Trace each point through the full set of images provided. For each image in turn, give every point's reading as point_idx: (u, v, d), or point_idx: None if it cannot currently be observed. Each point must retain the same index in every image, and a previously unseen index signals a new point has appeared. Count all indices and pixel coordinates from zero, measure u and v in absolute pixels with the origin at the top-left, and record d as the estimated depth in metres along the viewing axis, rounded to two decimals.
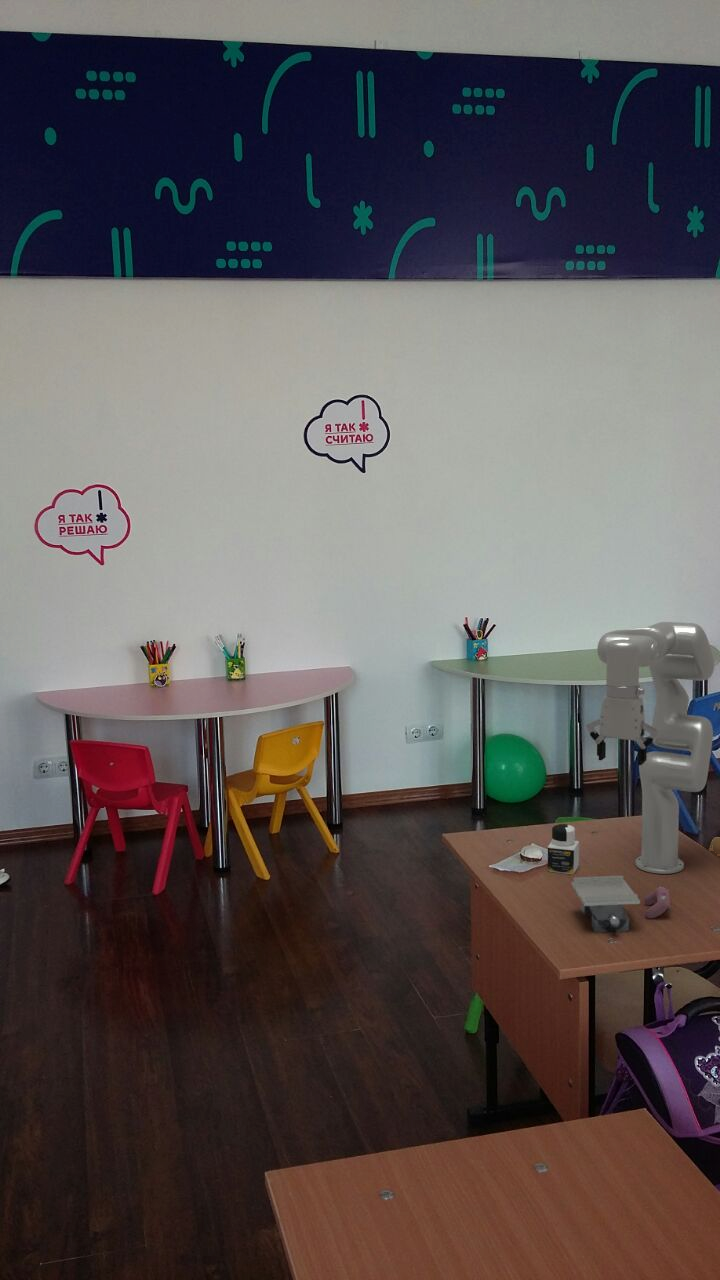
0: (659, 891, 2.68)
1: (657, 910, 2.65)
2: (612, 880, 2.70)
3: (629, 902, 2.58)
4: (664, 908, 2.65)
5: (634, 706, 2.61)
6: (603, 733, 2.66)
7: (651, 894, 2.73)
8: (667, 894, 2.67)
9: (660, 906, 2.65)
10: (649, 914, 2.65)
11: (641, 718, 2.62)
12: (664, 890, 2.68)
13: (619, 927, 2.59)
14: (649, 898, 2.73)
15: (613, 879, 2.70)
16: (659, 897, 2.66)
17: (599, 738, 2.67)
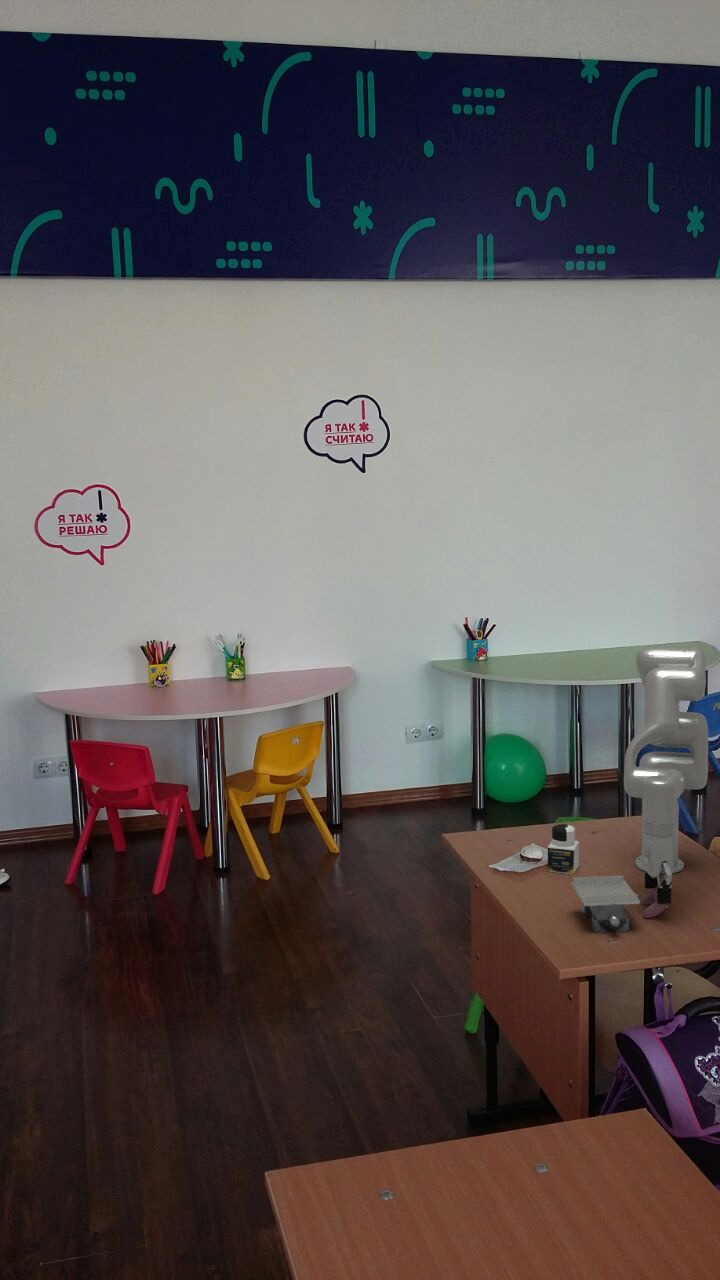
0: None
1: (655, 910, 2.65)
2: (612, 880, 2.70)
3: (629, 902, 2.58)
4: (662, 908, 2.65)
5: None
6: None
7: (649, 894, 2.73)
8: None
9: (658, 906, 2.65)
10: (647, 914, 2.65)
11: None
12: None
13: (619, 927, 2.59)
14: (647, 898, 2.73)
15: (613, 879, 2.70)
16: None
17: None
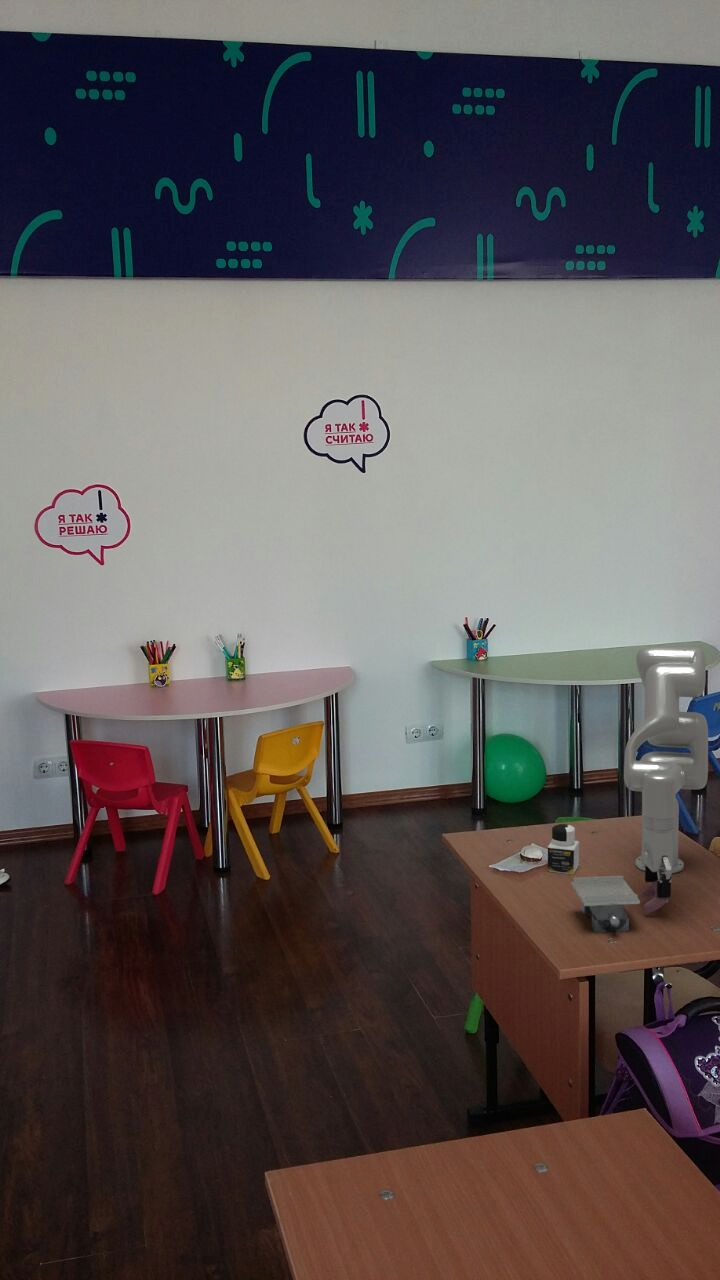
0: None
1: (655, 904, 2.66)
2: (612, 880, 2.70)
3: (629, 902, 2.58)
4: (662, 903, 2.65)
5: None
6: None
7: (649, 887, 2.74)
8: None
9: (658, 900, 2.65)
10: (647, 908, 2.66)
11: None
12: None
13: (619, 927, 2.59)
14: (647, 891, 2.74)
15: (613, 879, 2.70)
16: None
17: None
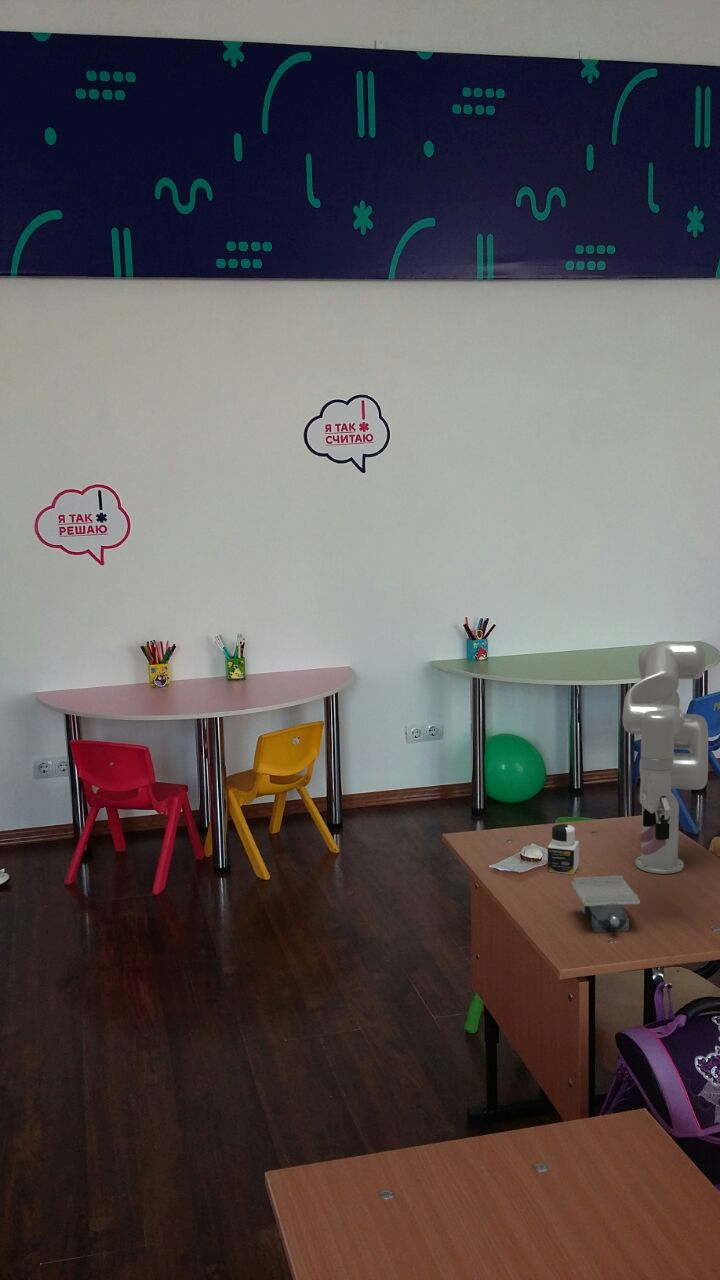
0: None
1: (653, 847, 2.62)
2: (612, 880, 2.70)
3: (629, 902, 2.58)
4: (660, 845, 2.62)
5: None
6: None
7: (647, 831, 2.71)
8: None
9: (657, 842, 2.62)
10: (645, 850, 2.63)
11: None
12: None
13: (619, 927, 2.59)
14: (645, 835, 2.71)
15: (613, 879, 2.70)
16: None
17: None
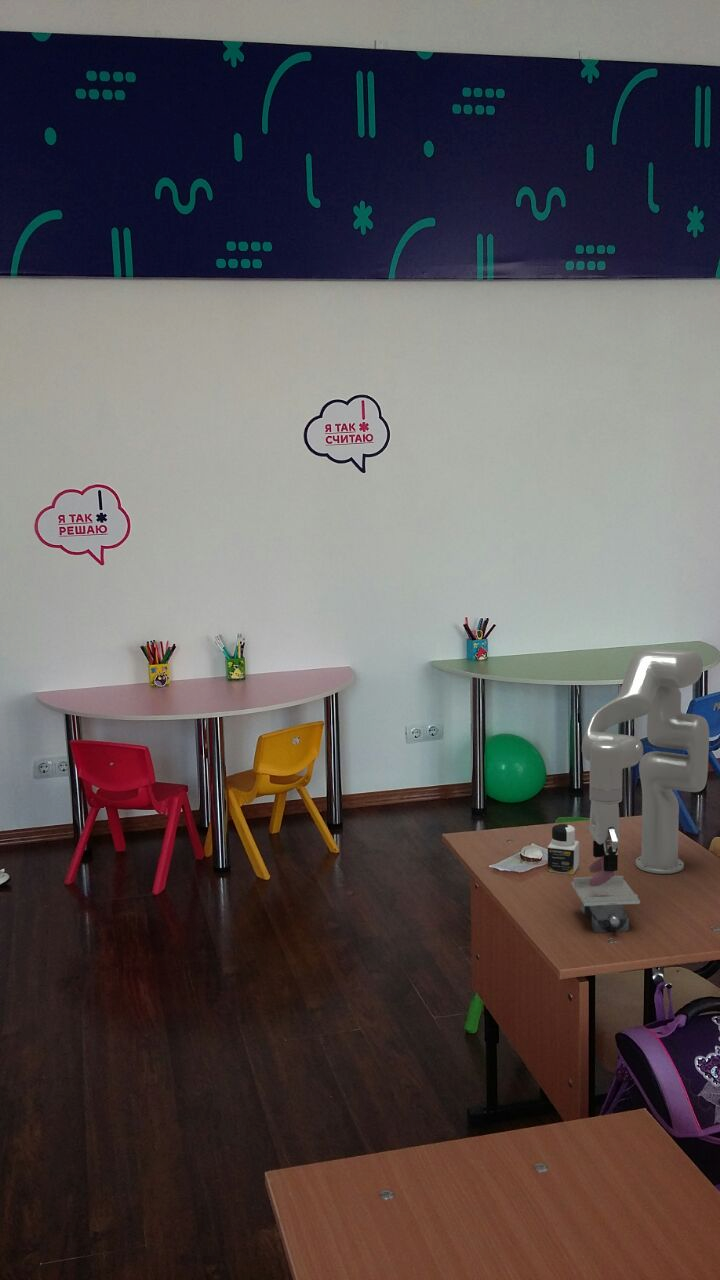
0: None
1: (602, 878, 2.59)
2: (612, 880, 2.70)
3: (629, 902, 2.58)
4: (609, 876, 2.59)
5: None
6: None
7: (597, 862, 2.67)
8: None
9: (605, 874, 2.59)
10: (593, 882, 2.60)
11: None
12: None
13: (619, 927, 2.59)
14: (595, 866, 2.67)
15: (613, 879, 2.70)
16: None
17: None
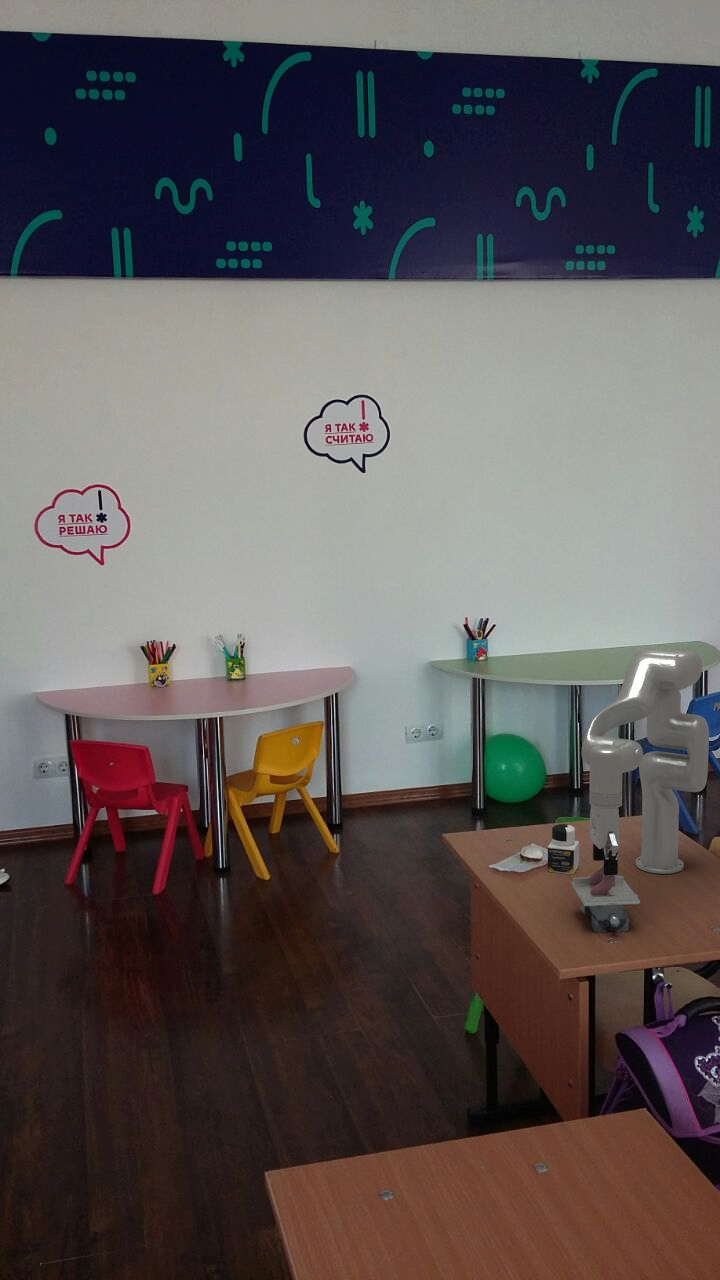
0: None
1: (602, 888, 2.60)
2: None
3: (629, 902, 2.58)
4: (609, 886, 2.59)
5: None
6: None
7: (597, 873, 2.68)
8: None
9: (606, 884, 2.59)
10: (594, 892, 2.60)
11: None
12: None
13: (619, 927, 2.59)
14: (595, 877, 2.68)
15: None
16: (604, 875, 2.61)
17: None
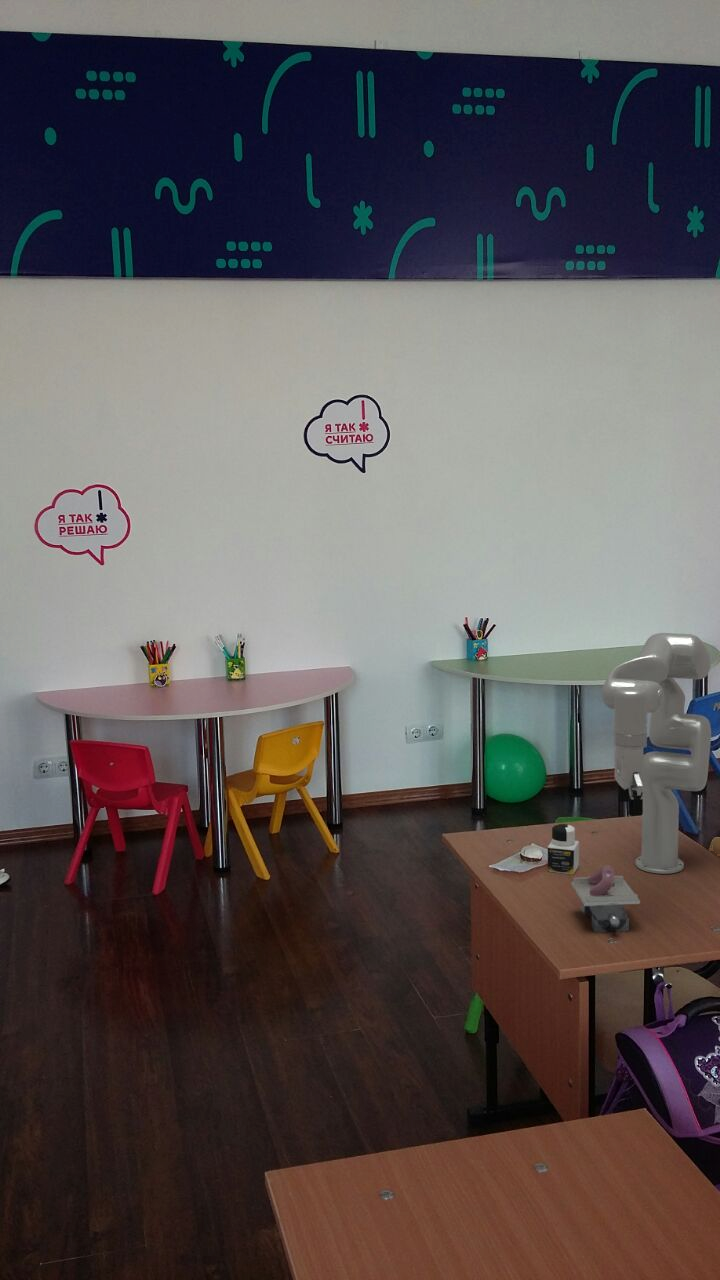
0: (604, 869, 2.63)
1: (602, 888, 2.60)
2: None
3: (629, 902, 2.58)
4: (609, 886, 2.59)
5: None
6: None
7: (597, 873, 2.68)
8: (612, 872, 2.62)
9: (605, 884, 2.59)
10: (593, 892, 2.60)
11: None
12: (609, 868, 2.63)
13: (619, 927, 2.59)
14: (595, 877, 2.68)
15: None
16: (604, 875, 2.61)
17: None
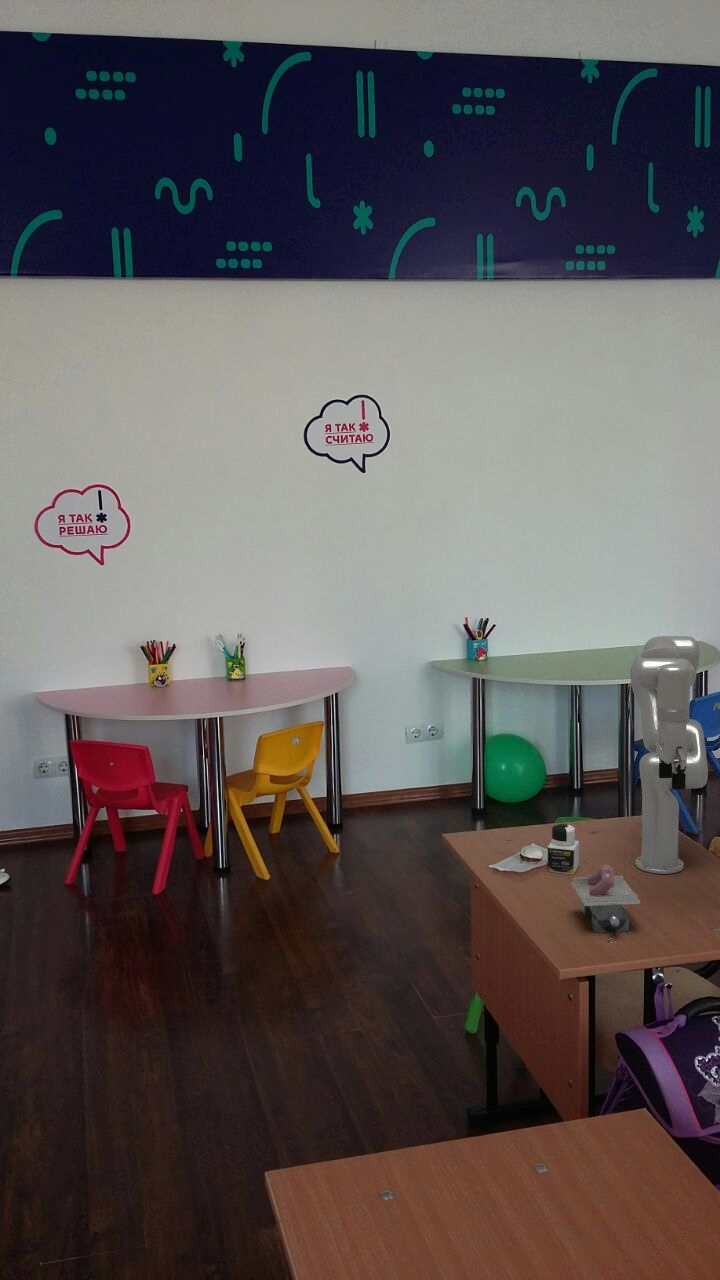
0: (603, 869, 2.63)
1: (601, 888, 2.59)
2: None
3: (629, 902, 2.58)
4: (608, 886, 2.59)
5: None
6: None
7: (596, 873, 2.68)
8: (611, 872, 2.61)
9: (604, 884, 2.59)
10: (593, 892, 2.60)
11: None
12: (609, 868, 2.63)
13: (619, 927, 2.59)
14: (594, 877, 2.68)
15: None
16: (603, 875, 2.61)
17: None
